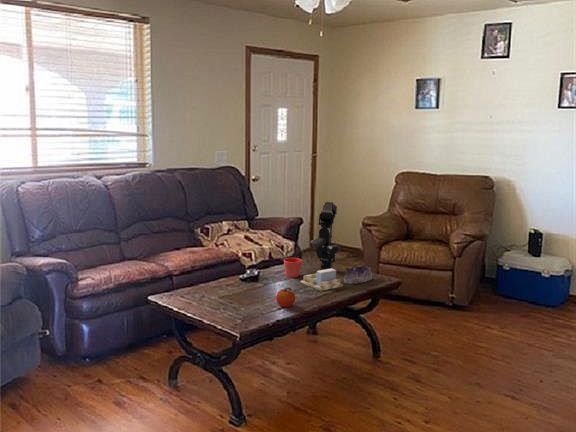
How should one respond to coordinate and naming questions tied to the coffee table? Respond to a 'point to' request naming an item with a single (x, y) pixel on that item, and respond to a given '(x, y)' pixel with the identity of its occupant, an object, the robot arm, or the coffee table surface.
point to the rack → (325, 285)
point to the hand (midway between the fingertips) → (324, 260)
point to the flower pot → (292, 266)
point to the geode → (357, 275)
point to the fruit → (285, 297)
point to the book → (325, 275)
